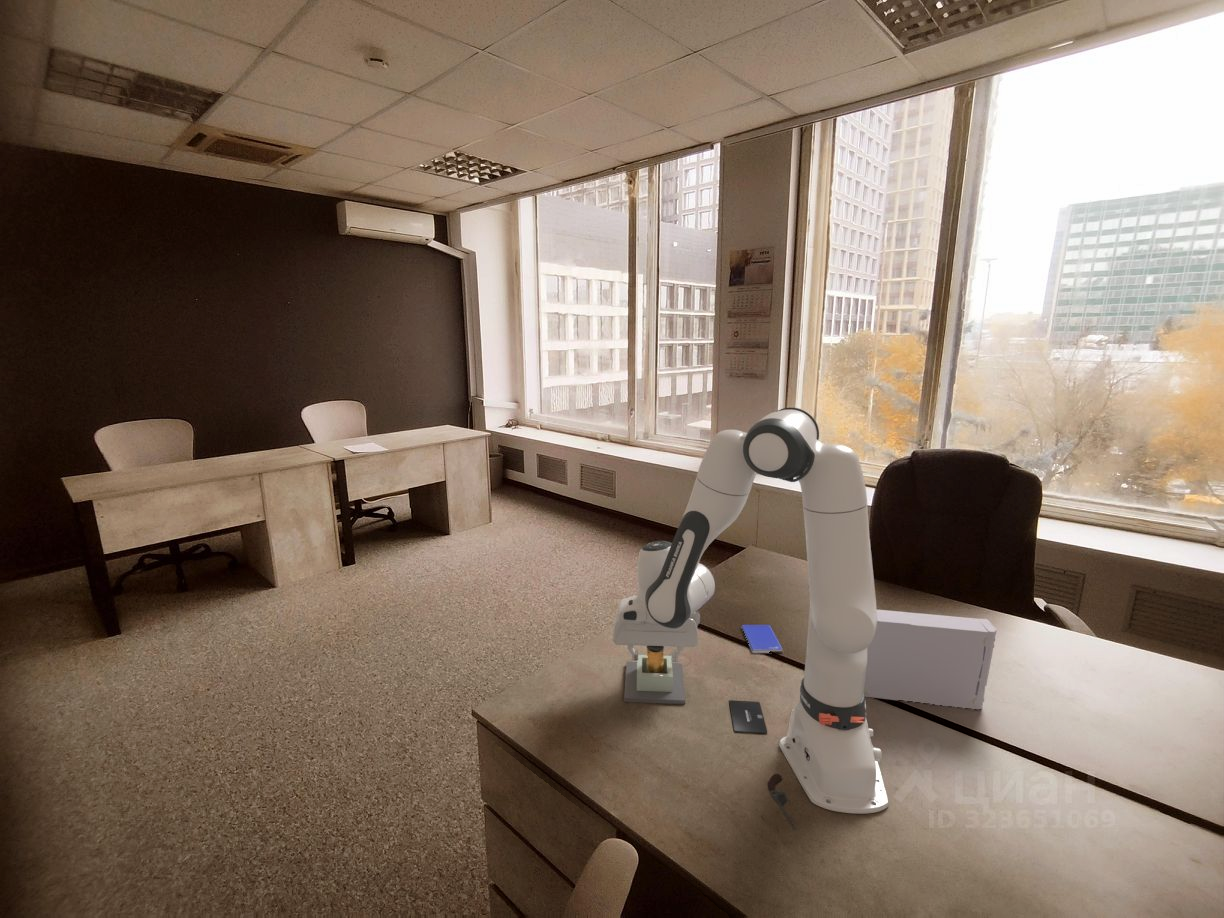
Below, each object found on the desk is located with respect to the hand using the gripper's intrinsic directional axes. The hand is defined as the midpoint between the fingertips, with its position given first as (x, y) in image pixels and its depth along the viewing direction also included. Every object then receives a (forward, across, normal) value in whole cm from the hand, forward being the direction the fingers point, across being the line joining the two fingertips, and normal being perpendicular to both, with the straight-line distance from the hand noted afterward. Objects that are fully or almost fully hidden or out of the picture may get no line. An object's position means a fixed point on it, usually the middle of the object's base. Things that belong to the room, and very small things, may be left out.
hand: (654, 659), depth 131 cm
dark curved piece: (+7, -24, +33) cm, 42 cm away
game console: (+7, -61, +1) cm, 61 cm away
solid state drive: (+7, -20, +10) cm, 24 cm away
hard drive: (+7, -30, -21) cm, 37 cm away
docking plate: (+7, 0, 0) cm, 7 cm away
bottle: (+6, 0, 0) cm, 6 cm away
